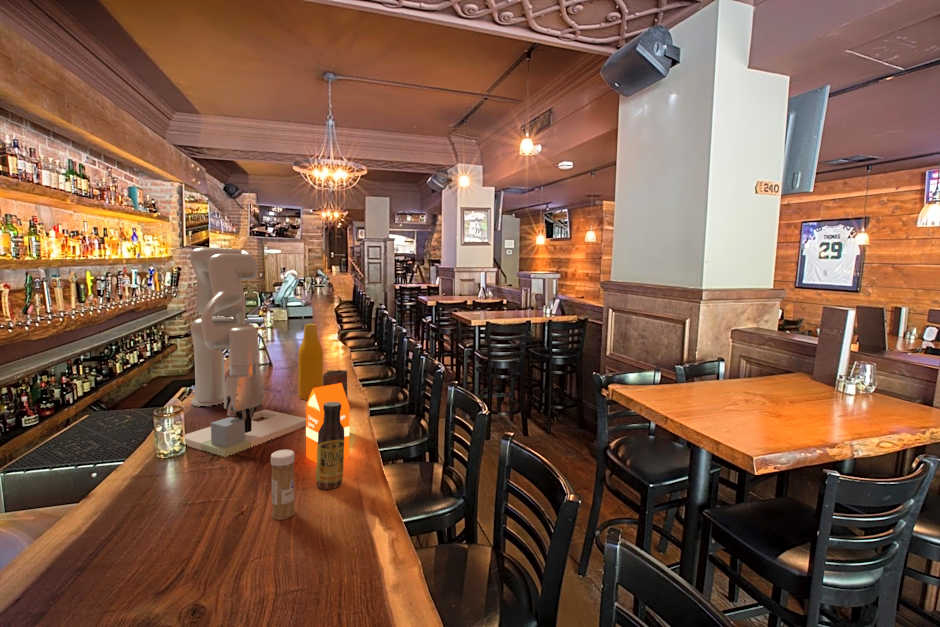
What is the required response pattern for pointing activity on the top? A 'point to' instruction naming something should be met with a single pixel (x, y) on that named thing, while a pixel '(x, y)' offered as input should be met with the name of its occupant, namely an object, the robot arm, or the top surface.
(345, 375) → the brown piece
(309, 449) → the orange juice
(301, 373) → the beer bottle
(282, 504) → the sprinkles bottle
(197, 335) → the robot arm
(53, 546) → the top surface
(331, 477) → the sauce bottle
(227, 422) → the block
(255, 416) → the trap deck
